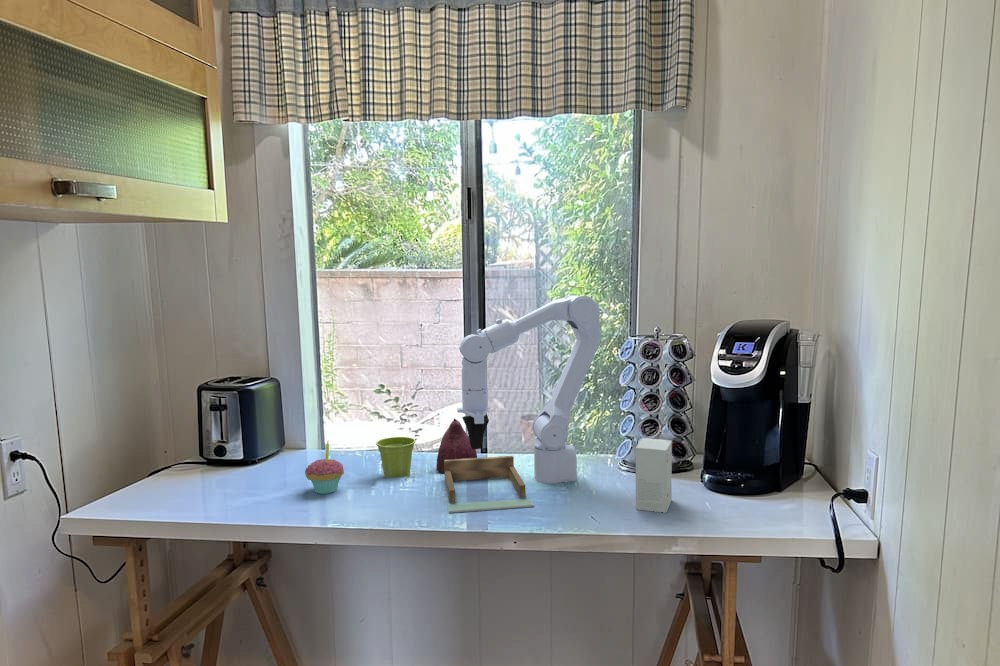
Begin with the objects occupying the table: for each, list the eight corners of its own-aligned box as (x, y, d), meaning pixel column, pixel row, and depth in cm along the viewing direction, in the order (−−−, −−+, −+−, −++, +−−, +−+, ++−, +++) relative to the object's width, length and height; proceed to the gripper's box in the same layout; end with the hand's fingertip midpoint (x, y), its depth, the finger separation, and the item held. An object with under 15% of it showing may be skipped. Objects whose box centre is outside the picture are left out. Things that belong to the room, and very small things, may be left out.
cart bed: (513, 480, 146) (512, 455, 145) (526, 505, 130) (526, 477, 129) (444, 485, 143) (444, 459, 143) (450, 510, 128) (449, 482, 127)
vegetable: (471, 488, 151) (474, 434, 145) (430, 480, 153) (432, 427, 147) (482, 465, 160) (485, 413, 155) (443, 458, 162) (445, 407, 157)
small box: (641, 496, 134) (642, 437, 133) (672, 500, 131) (672, 440, 130) (634, 509, 127) (634, 447, 125) (666, 513, 124) (667, 450, 123)
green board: (529, 497, 130) (534, 506, 125) (529, 503, 130) (534, 512, 125) (446, 503, 127) (448, 512, 122) (447, 509, 127) (448, 518, 123)
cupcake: (352, 489, 141) (350, 438, 140) (318, 500, 135) (316, 446, 134) (331, 481, 147) (329, 432, 146) (298, 491, 141) (296, 439, 140)
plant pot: (370, 475, 151) (369, 441, 150) (404, 468, 157) (403, 434, 156) (388, 485, 144) (387, 448, 143) (423, 476, 150) (422, 441, 149)
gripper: (454, 383, 145) (455, 440, 146) (459, 395, 131) (461, 458, 132) (484, 382, 146) (485, 439, 147) (493, 393, 132) (494, 456, 133)
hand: (476, 448), depth 140 cm, fingers closed
